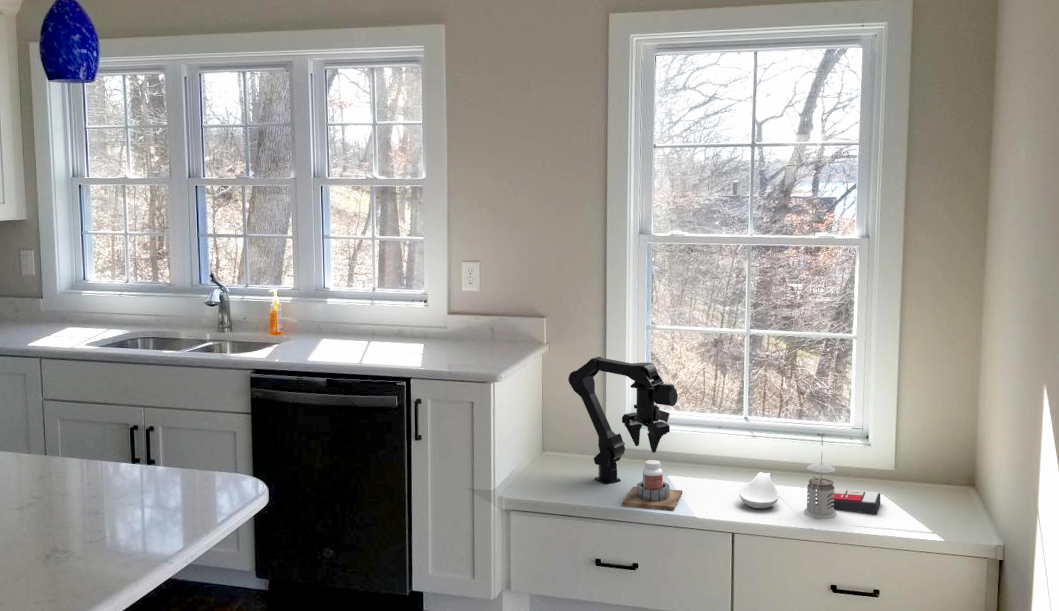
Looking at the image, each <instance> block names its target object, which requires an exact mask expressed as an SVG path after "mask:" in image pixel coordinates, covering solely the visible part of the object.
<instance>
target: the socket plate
mask: <svg viewBox="0 0 1059 611" xmlns="http://www.w3.org/2000/svg"><path fill="white" fill-rule="evenodd" d="M681 495H682V496H683V490H681V489H670V492H669V498H668V499H667V500H664V501H656V502H651V501H644V500H641V499H639V498H637V486H635V485H633V486H632V487H631V489H630V490H629V492H628V494H626V496H625V498H624V500H622V506H623V507H629V506H630V507H632V508H642V507H643V508H644V509H651V508H659V509H658V510H662V509H671V510H670V511H673V510H674V509H675V510H676V508H675V507H677V506H678V504H679V502H680V500H681V498H682V496H681ZM680 497H681V498H680ZM679 499H680V500H679ZM678 501H679V502H678ZM677 503H678V504H677ZM676 505H677V506H676ZM643 508H642V509H643ZM675 510H674V511H675Z"/></svg>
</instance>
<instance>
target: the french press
mask: <svg viewBox="0 0 1059 611" xmlns="http://www.w3.org/2000/svg"><path fill="white" fill-rule="evenodd" d="M818 436H819V437H821V445H823V444H824V443H823V442H824V440H823V438H824V437H826V433H825V431H819V433H818ZM820 459H821V462H814V463H811V464H810V465H808V466H807V467H806V469H807V470H808V472H811V473H814V474H819V475H820V477H815V476H816V475H815V476H813V478H810V479H809V480H808V484H807V488H806V492H807V496H806V498H807V499H806V501H807V503H806V507H805V509H804V510H803V514H804V515H805V516H808V517H811V518H815V519H833V518H835V517H837V516H838V512H836V510H834V507H831V506H832V505H833V506H834V503H831V502H832V501H833V502H834V499H832V497H833V498H834V495H832V494H831V493H834V489H835V486H834V482H833V480H831V479H828V478H822V475H827V474H833V473H834V472H835V471H836V468H835V467H834V466H832V465H831V464H828V463H824V462H823V453H821V458H820Z"/></svg>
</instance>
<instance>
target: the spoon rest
mask: <svg viewBox="0 0 1059 611" xmlns="http://www.w3.org/2000/svg"><path fill="white" fill-rule="evenodd" d="M779 494H780V493H779V491H778V489H777V487H776V486H775V484H774V480H773V478H772V475H771V473H770V472H767V473H765V472H763V471H760V472H758V473H757V474H756V476H755V477H753V478H752V480H751V481H750V482H749V483H747V484H746V485H745V486H744V487H743V488H742V489H741V490H740V492H739V498H740V499H741V501H742V502H743V503H744V504H745V505H746V506H748V507H750V508H753V509H759V510H765V509H767V508H771V507H773V506H774V505H775V504H776V503H777V502H778V500H779V498H780V496H779Z"/></svg>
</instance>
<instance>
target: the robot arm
mask: <svg viewBox="0 0 1059 611" xmlns="http://www.w3.org/2000/svg"><path fill="white" fill-rule="evenodd" d="M657 370H658V369H657V367H656V365H655V364H654V363H653V362H634V363H633V362H626V361H619V360H614V359H610V358H604V357H602V356H596V357H593V358H590V359H589V361H587V362H586V363H585V364H583V365H582V366H580V367H579V368H578V369H577V370H573V371H571V372H570V373H569V376H568V383H569V385H570V387H571V388H572V390H573V391H574V393H575V394H577V395H578V396H579V397H580V398H581V400H582V402H583V405H584V407H585V409H586V411H587V414H588V416H589V419H590V420H591V423H592V425H593V427H594V429H595V431H596V434H597V436H598V442H597V445H598V450H599V452H598V454H596V455H595V456H594V457H593V461H594V464H595V465H597V466H598V476H596V477H594V480H596V481H598V482H600V483H602V484H605V485H606V484H611V483H616V482H621V480H622V479H620V478H619V477H618V463H617V462H619V461H620V460H621V457H622V456H623V455H624V454H625V451H626V447H625V445H626V443H625V442H624V441H623V437H622V435H621V433H617V434H616V433H615V432H614V431H613V430H612V427H611V426H610V422H609V421H608V419H607V417H606V414H605V412H604V410H603V407H602V405H601V403H600V400H599V398H598V396H597V394H596V391H595V388H596V386H595V385H596V383H595V379H594V377H595V376H596V375H597V374H598V373H599V372H604V373H611V374H615V375H620V376H624V377H628V378H629V379H630V380H632V381H634V382H633V383H632V384H631V385H630V386H629V387H630V388H632V389H636V404H633V409H635V410H636V412H630V413H625V414H623V415H622V417H621V423H622V424H623V426H624V427H625V428H626V429H627V431H628V434H629V435H630V437H631V439H632V442H633V443H634V446H635V447H639V446H640V438H641V429H642V427H643V426H644V427H646V428H647V431H648V432H647V437H648V438H647V439H648V442H649V446H650V450H651V453H653V454H654V453H656V452H657V449H658V446H659V443H660V442H661V439H662V437H663V436H665V435H667V434H668V433H670V431H671V429H670V428H671V427H670V425H669V424H668V420H669V418H670V414H671V413H670V412H667V411H665V410H661V409H660V407H659V406H658V405H662V406H669V407H674V406H676V404H677V403H678V398H679V394H678V391H677V388H675V384H672V383H669V384H667V383H665V382H664V380H663V378H662V377H661V375H660V374H659V372H658V371H657ZM663 421H664V422H663Z"/></svg>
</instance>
